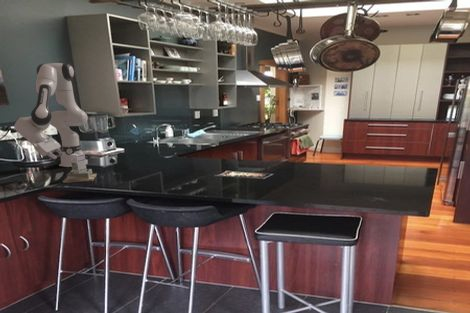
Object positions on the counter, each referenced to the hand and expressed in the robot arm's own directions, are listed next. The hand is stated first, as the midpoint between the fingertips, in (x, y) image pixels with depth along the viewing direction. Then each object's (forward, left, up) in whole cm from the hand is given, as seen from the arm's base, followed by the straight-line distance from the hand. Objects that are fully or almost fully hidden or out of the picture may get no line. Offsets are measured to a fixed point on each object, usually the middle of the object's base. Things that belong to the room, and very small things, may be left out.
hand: (59, 156), depth 196 cm
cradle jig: (+2, +11, -14) cm, 18 cm away
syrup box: (+2, +11, -13) cm, 17 cm away
